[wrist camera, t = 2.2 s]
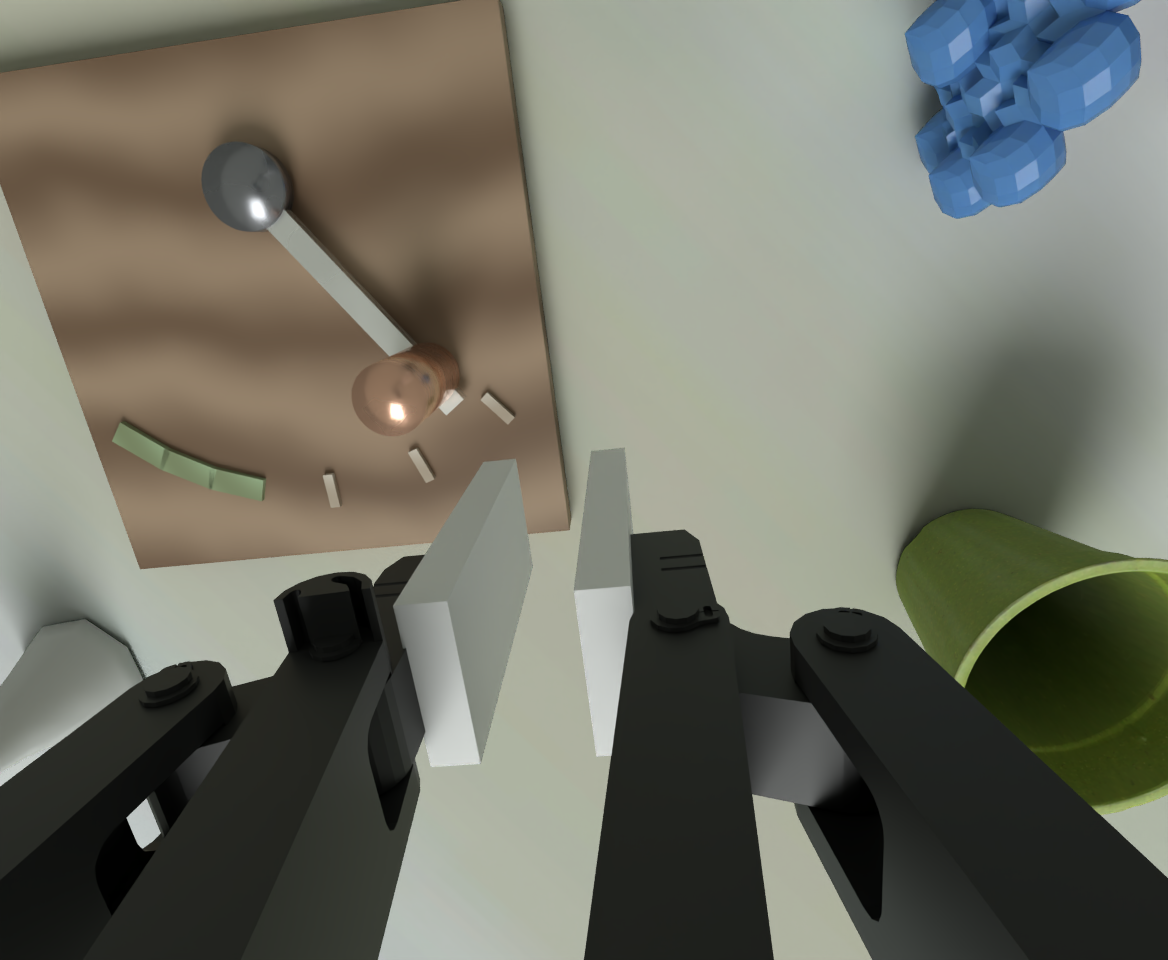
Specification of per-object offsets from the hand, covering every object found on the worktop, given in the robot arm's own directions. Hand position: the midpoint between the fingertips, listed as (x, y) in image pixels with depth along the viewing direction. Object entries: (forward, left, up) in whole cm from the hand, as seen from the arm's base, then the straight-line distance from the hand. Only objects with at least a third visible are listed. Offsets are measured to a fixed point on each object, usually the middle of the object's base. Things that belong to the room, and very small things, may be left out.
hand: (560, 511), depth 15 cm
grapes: (-11, +16, -20) cm, 28 cm away
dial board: (-4, -14, -19) cm, 24 cm away
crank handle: (-5, -11, -18) cm, 21 cm away
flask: (+15, -33, -20) cm, 41 cm away
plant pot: (+13, +19, -20) cm, 30 cm away
